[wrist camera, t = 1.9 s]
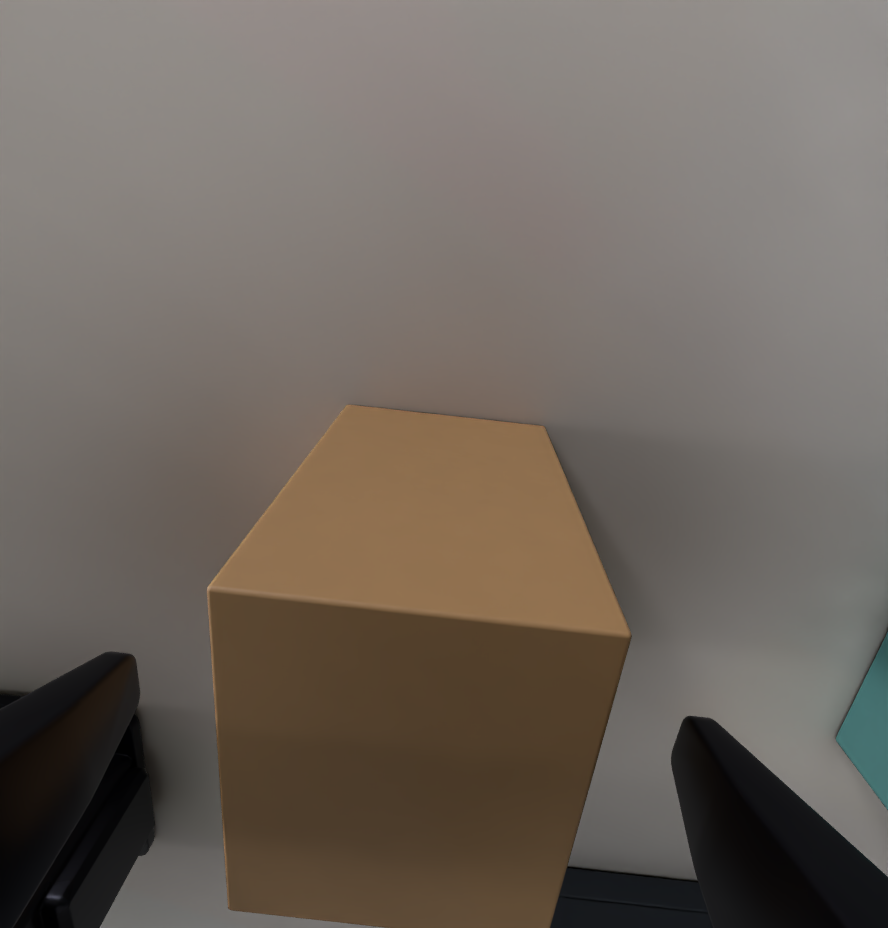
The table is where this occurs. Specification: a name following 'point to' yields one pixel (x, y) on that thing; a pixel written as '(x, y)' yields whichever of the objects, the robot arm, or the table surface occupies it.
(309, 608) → the carton
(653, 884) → the basin
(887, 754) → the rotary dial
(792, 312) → the table surface
